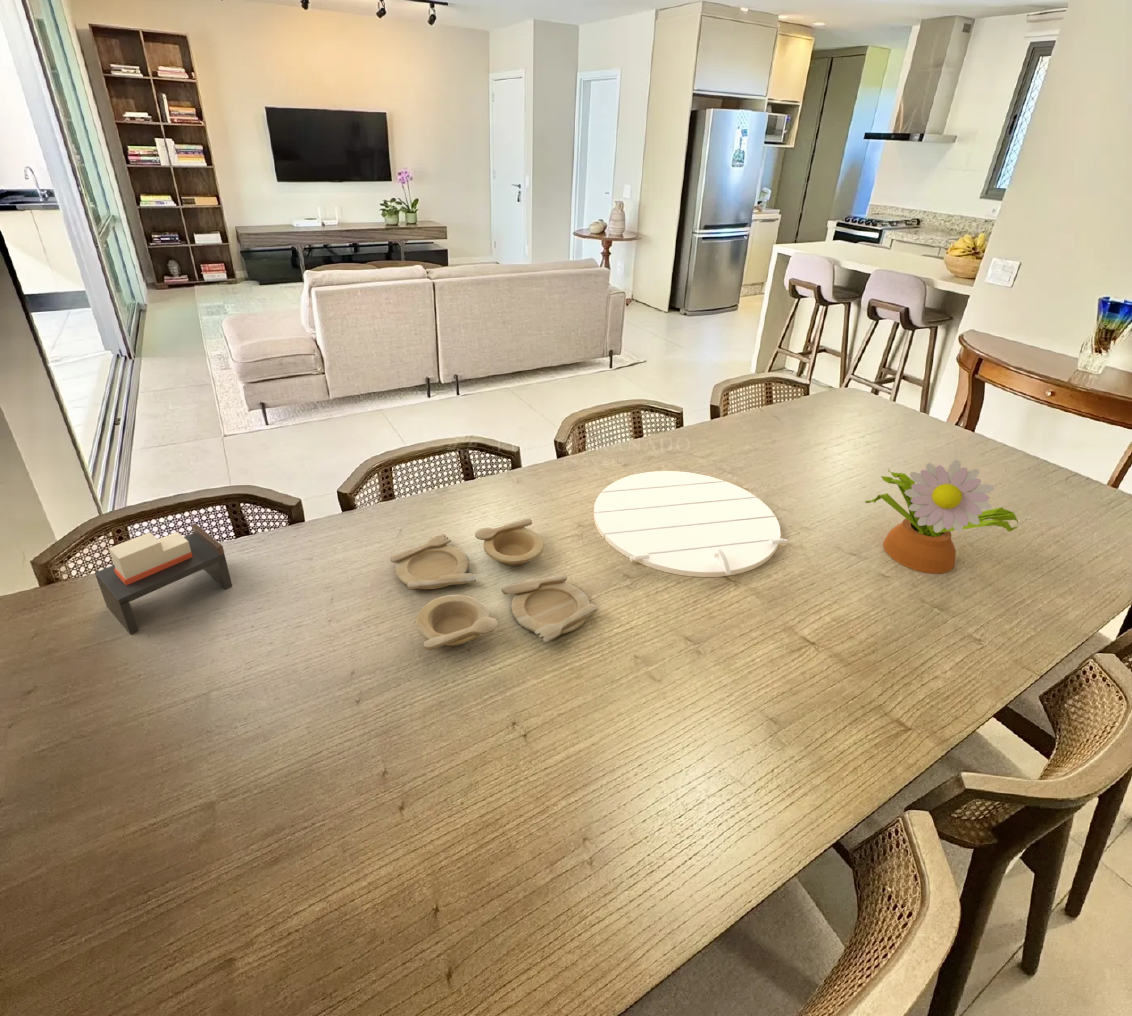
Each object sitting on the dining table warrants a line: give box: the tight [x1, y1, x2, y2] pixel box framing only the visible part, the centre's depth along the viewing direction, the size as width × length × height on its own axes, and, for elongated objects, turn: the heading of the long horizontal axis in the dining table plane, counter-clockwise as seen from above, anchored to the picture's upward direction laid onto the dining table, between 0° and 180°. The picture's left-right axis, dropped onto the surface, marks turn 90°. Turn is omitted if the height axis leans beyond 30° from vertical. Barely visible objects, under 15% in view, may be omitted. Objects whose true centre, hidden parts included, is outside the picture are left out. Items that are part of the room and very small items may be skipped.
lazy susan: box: [593, 470, 789, 578], centre depth 135 cm, size 40×39×3 cm
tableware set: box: [389, 518, 598, 651], centre depth 112 cm, size 35×29×4 cm
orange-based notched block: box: [108, 531, 193, 585], centre depth 103 cm, size 10×4×5 cm, turn 141°
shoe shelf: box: [94, 523, 233, 636], centre depth 106 cm, size 16×10×9 cm, turn 141°
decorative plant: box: [864, 459, 1020, 575], centre depth 123 cm, size 27×24×25 cm
